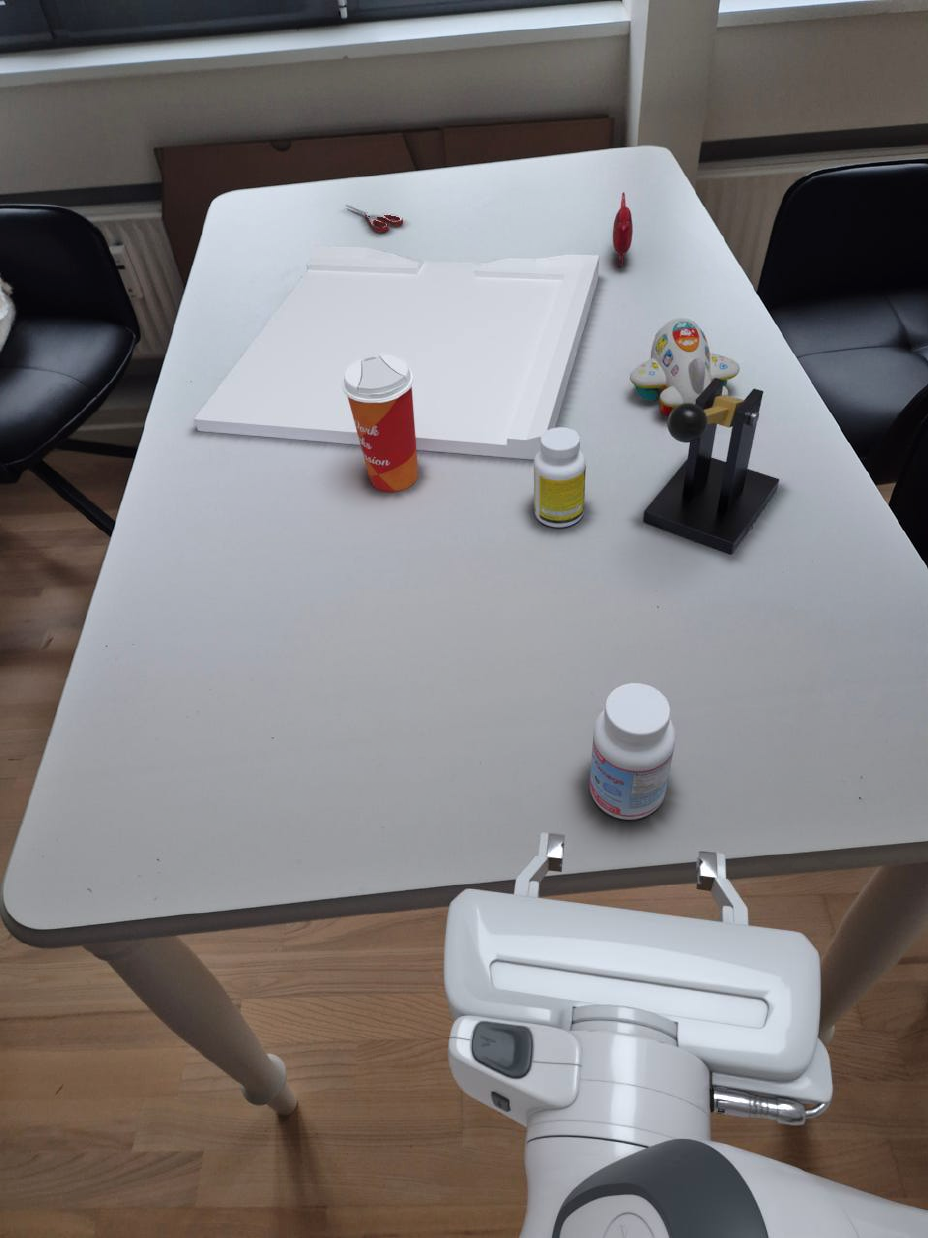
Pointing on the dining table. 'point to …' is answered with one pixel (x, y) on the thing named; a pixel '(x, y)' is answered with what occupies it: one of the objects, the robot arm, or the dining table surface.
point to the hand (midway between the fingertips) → (630, 846)
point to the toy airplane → (680, 366)
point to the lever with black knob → (701, 418)
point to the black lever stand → (716, 483)
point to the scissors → (380, 220)
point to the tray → (416, 349)
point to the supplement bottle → (559, 478)
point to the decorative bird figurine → (622, 230)
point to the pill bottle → (632, 752)
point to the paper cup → (384, 419)
